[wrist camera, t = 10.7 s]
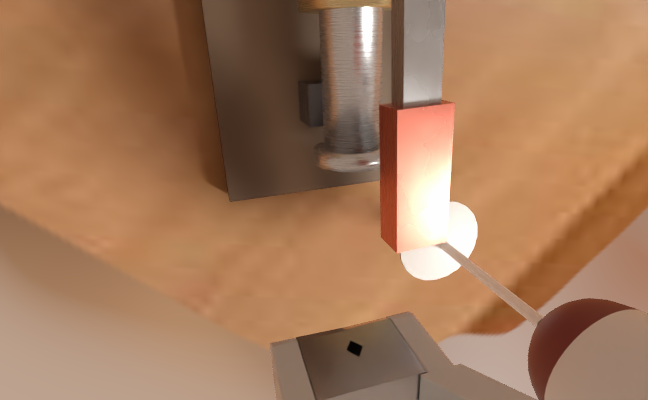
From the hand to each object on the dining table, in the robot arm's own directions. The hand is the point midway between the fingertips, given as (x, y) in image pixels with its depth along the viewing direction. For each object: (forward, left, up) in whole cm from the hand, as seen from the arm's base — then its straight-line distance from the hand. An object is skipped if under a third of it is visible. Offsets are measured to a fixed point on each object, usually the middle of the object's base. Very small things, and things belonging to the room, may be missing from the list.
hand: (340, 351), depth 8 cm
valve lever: (-6, -5, -10) cm, 13 cm away
